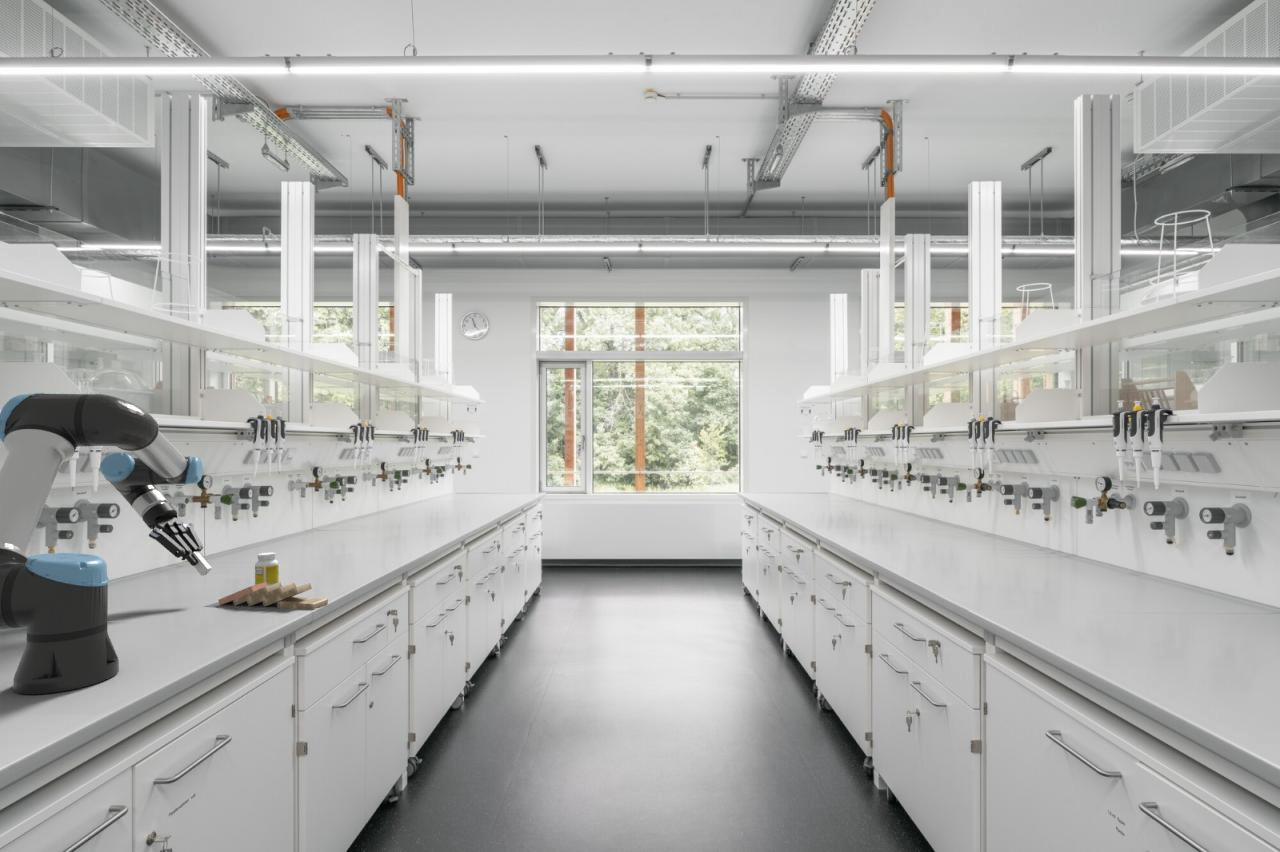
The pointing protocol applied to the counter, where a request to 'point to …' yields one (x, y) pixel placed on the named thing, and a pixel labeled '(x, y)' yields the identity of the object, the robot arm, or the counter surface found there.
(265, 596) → the domino
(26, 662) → the robot arm
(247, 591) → the domino
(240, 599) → the domino
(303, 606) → the domino
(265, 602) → the domino
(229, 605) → the mat
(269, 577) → the pill bottle
